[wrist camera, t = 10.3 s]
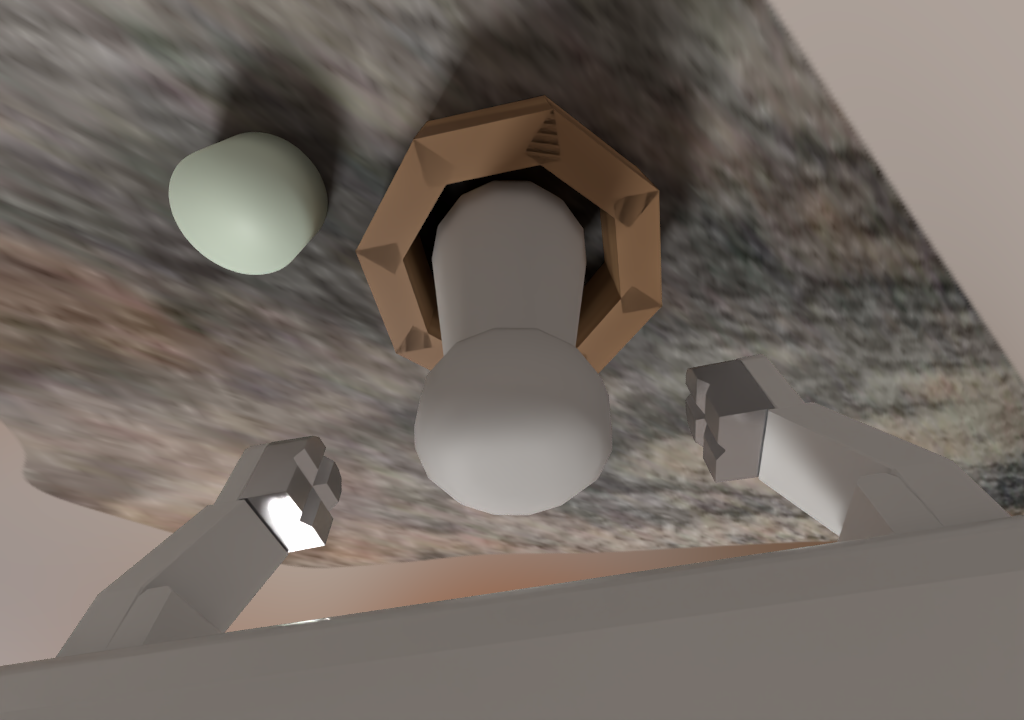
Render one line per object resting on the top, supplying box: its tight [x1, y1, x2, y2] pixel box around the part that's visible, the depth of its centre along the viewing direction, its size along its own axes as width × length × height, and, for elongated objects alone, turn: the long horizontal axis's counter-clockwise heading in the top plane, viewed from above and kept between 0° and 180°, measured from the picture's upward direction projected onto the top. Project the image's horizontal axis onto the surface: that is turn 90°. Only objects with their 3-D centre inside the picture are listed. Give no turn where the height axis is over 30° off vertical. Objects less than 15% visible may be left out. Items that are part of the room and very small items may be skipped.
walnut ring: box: [356, 95, 662, 373], centre depth 19 cm, size 10×10×4 cm
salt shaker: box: [414, 180, 612, 515], centre depth 15 cm, size 6×6×13 cm
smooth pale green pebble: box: [169, 132, 328, 275], centre depth 18 cm, size 4×4×3 cm
